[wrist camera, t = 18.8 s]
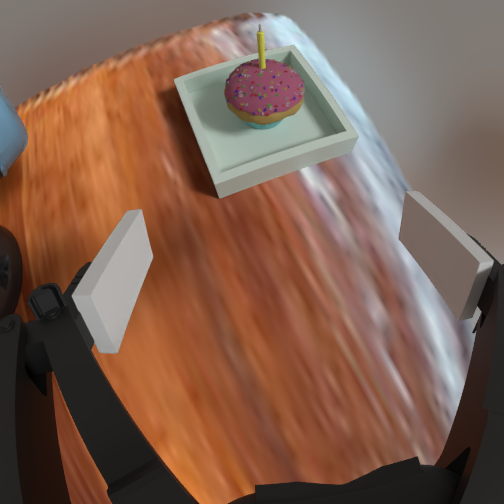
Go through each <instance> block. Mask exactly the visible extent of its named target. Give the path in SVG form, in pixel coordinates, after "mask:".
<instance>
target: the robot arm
mask: <svg viewBox="0 0 504 504" xmlns="http://www.w3.org/2000/svg"><path fill="white" fill-rule="evenodd" d="M27 141H28V134H27V130H26V128H25V126H24V124H23V122H22V120H21V119H20V117H19V115H18V114H17V112H16V110H15V109H14V107H13V105H12V104H11V102H10V101H9V99H8V97H7V96H6V94H5V92H4V91H3V89H2V87H1V86H0V179H1V178H2V177H3V176H4V177H6V175H7V174H8V170H9V168H10V167H11V166H12V165H13V163H14V162H15V161H16V160H17V158H18V157H19V156H20V155H21V154H22V152H23V151H24V149H25V147H26V145H27ZM399 240H400V241H401V242H402V244H403V245H404V246H405V247H406V249H407V250H408V251H409V253H410V254H411V255H412V256H413V258H414V259H415V260H416V262H417V263H418V264H419V266H420V267H421V268H422V270H423V271H424V272H425V274H426V275H427V276H428V278H429V279H430V281H431V282H432V283H433V285H434V286H435V288H436V289H437V290H438V292H439V293H440V295H441V296H442V297H443V299H444V300H445V302H446V303H447V305H448V306H449V308H450V309H451V311H452V312H453V314H454V315H455V317H456V318H457V320H458V321H461V320H465V319H469V318H472V317H473V315H474V312H475V310H476V308H477V306H478V308H479V309H480V310H481V315H480V317H479V319H478V321H477V323H476V326H475V328H474V330H473V332H472V333H475V331H476V330H477V331H476V336H475V342H474V347H473V351H472V356H471V361H470V365H469V369H468V373H467V377H466V381H465V385H464V389H463V393H462V396H461V400H460V403H459V406H458V410H457V413H456V416H455V419H454V422H453V425H452V428H451V431H450V434H449V436H448V439H447V442H446V445H445V447H444V450H443V452H442V454H441V456H440V458H439V459H438V461H437V462H436V464H435V465H434V466H432V465H420V463H419V459H418V456H417V457H414V458H411V459H407V460H404V461H400V462H397V463H393V464H389V465H386V466H382V467H380V468H378V469H376V470H374V471H372V472H370V473H368V474H366V475H364V476H362V477H360V478H357V479H355V480H353V481H351V482H349V483H346V484H342V485H333V484H318V483H306V482H290V483H279V484H266V485H255V493H253V494H249V495H246V496H243V497H241V498H238V499H236V500H234V501H232V502H230V503H228V504H504V264H502V265H501V264H500V263H499V262H498V261H497V260H496V259H495V258H494V257H493V256H492V255H491V254H490V253H489V252H488V251H486V249H485V248H484V247H483V246H481V244H480V243H479V242H478V241H477V240H476V239H475V238H473V237H472V236H470V235H468V234H466V233H465V232H464V231H463V230H462V229H460V227H459V226H457V225H456V224H455V223H454V222H453V221H452V220H451V219H450V218H448V217H447V216H446V215H445V214H444V213H443V212H442V211H441V210H440V209H438V208H437V207H436V206H435V205H434V204H432V203H431V202H430V201H429V200H428V199H427V198H425V197H424V196H423V195H422V194H421V193H419V192H418V191H405V198H404V206H403V213H402V220H401V227H400V233H399ZM152 259H153V254H152V250H151V246H150V242H149V238H148V234H147V230H146V226H145V222H144V217H143V213H142V209H138V210H130V211H127V212H126V213H125V215H124V216H123V218H122V219H121V220H120V222H119V223H118V225H117V226H116V228H115V229H114V230H113V232H112V233H111V235H110V236H109V238H108V239H107V241H106V242H105V244H104V245H103V247H102V248H101V250H100V251H99V253H98V254H97V256H96V257H95V259H94V260H93V262H88V263H86V264H85V265H84V266H83V267H82V268H80V269H79V271H78V272H77V274H76V275H75V278H73V280H72V282H71V285H69V286H68V288H67V289H66V291H65V293H64V294H62V292H61V290H60V288H59V286H58V285H57V284H55V283H47V284H44V285H41V286H39V287H38V288H36V289H35V290H34V291H33V292H32V293H31V294H30V295H29V297H28V300H27V303H28V305H29V307H30V309H31V310H32V312H33V314H34V316H35V318H36V320H35V321H31V322H27V323H24V322H23V320H22V319H21V317H20V316H19V315H18V314H13V312H14V310H15V308H16V305H17V302H18V299H19V295H20V290H21V283H22V260H21V254H20V249H19V246H18V243H17V241H16V239H15V237H14V236H13V234H12V233H11V232H10V231H9V230H8V229H6V228H5V227H2V226H0V504H71V501H70V497H69V493H68V489H67V484H66V480H65V475H64V470H63V465H62V460H61V454H60V448H59V442H58V435H57V428H56V419H55V410H54V400H53V387H52V371H53V372H54V374H55V377H56V380H57V382H58V385H59V387H60V390H61V392H62V395H63V397H64V400H65V402H66V404H67V407H68V409H69V411H70V414H71V416H72V418H73V420H74V422H75V425H76V427H77V429H78V431H79V433H80V435H81V437H82V439H83V441H84V443H85V445H86V447H87V449H88V451H89V453H90V455H91V457H92V458H93V460H94V462H95V464H96V466H97V467H98V469H99V471H100V473H101V474H102V476H103V478H104V480H105V481H106V483H107V485H108V489H107V494H108V497H109V498H110V500H111V502H112V504H199V503H198V502H197V500H196V499H195V498H194V497H193V496H192V495H191V494H190V493H189V492H188V491H187V489H186V488H185V487H184V486H183V485H182V484H181V482H180V481H179V480H178V479H177V478H176V476H175V475H174V474H173V473H172V472H171V470H170V469H169V468H168V467H167V465H166V464H165V463H164V462H163V460H162V459H161V458H160V456H159V455H158V454H157V452H156V451H155V450H154V448H153V447H152V446H151V444H150V443H149V442H148V440H147V439H146V438H145V436H144V435H143V433H142V432H141V431H140V429H139V428H138V426H137V425H136V423H135V422H134V420H133V419H132V417H131V416H130V414H129V413H128V411H127V410H126V408H125V407H124V405H123V404H122V402H121V401H120V399H119V397H118V396H117V394H116V393H115V391H114V389H113V388H112V386H111V384H110V383H109V381H108V379H107V378H106V376H105V374H104V373H103V371H102V369H101V367H100V366H99V364H98V362H97V360H96V358H95V357H94V355H93V353H92V351H91V349H92V347H93V344H94V343H95V345H96V346H97V348H98V350H99V352H100V353H118V351H119V348H120V345H121V342H122V339H123V336H124V333H125V330H126V327H127V325H128V322H129V319H130V316H131V313H132V311H133V308H134V305H135V303H136V300H137V297H138V295H139V292H140V289H141V287H142V284H143V282H144V279H145V277H146V274H147V272H148V269H149V267H150V264H151V262H152Z"/></svg>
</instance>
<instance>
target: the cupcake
mask: <svg viewBox="0 0 504 504" xmlns="http://www.w3.org/2000/svg"><path fill="white" fill-rule="evenodd" d="M257 41H258V56H259V59H258V58H257V59H254V60H251V61H247V62H244V63H242V64H240V65H239V66H238V67H236V68H235V70H234V71H233V72H232V73H230V76H229V77H228V79H226V83H225V89H224V95H225V99H226V103H227V107H228V108H229V110H231V111H232V112H233V113H234V114H235V115H236V116H237V117H238V118H240V119H241V120H243V121H245V122H246V123H247V124H249V125H250V126H252V127H254V128H257V129H270V128H273V127H275V126H277V125H278V124H280V123H281V121H282V120H283V119H284V118H286V117H288V116H292V115H294V114H296V113H297V112H298V110H299V109H300V107H301V106H302V103H303V100H304V91H305V89H304V80H302V79H301V78H300V75H298V74H297V72H296V71H295V70H294V69H292V67H290V66H289V65H285V63H282V62H281V61H280V62H278V61H275V59H272V60H271V59H270V60H269V59H265V43H264V32H263V31H261V25H260V24H259V31H258V32H257Z"/></svg>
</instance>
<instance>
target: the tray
mask: <svg viewBox="0 0 504 504" xmlns="http://www.w3.org/2000/svg"><path fill="white" fill-rule="evenodd" d="M257 58H258V59H259V56H258V53H256V54H252V55H248V56H244V57H241V58H237V59H234V60H230V61H227V62H223V63H220V64H217V65H214V66H211V67H207V68H204V69H201V70H198V71H195V72H193V73H190V74H187V75H184V76H181V77H179V78H176V79H174V82H175V85H176V87H177V90H178V93H179V96H180V99H181V101H182V104H183V107H184V109H185V112H186V114H187V117H188V120H189V122H190V125H191V127H192V130H193V132H194V135H195V138H196V140H197V143H198V145H199V148H200V150H201V153H202V156H203V158H204V161H205V163H206V166H207V168H208V171H209V173H210V176H211V178H212V181H213V184H214V186H215V189H216V191H217V194H218V196H219V199H220V198H223V197H226V196H228V195H231V194H233V193H236V192H239V191H241V190H244V189H247V188H249V187H252V186H255V185H257V184H260V183H263V182H266V181H268V180H271V179H274V178H277V177H280V176H282V175H285V174H288V173H291V172H294V171H297V170H300V169H302V168H305V167H308V166H311V165H314V164H317V163H320V162H323V161H326V160H329V159H332V158H335V157H338V156H341V155H344V154H348V153H351V152H352V150H353V148H354V146H355V144H356V141H357V139H358V137H359V135H358V134H357V132H356V130H355V129H354V127H353V126H352V124H351V123H350V121H349V120H348V118H347V117H346V115H345V114H344V112H343V111H342V109H341V108H340V106H339V105H338V103H337V102H336V100H335V99H334V97H333V96H332V94H331V93H330V92H329V90H328V89H327V87H326V86H325V85H324V83H323V82H322V80H321V79H320V78H319V76H318V75H317V74H316V72H315V71H314V70H313V68H312V67H311V66H310V64H309V63H308V62H307V60H306V59H305V58H304V57H303V55H302V54H301V53H300V52H299V50H298V49H297V48H296V47H295V45H290V46H285V47H281V48H276V49H272V50H268V51H265V59H269V60H270V59H271V60H272V59H275V61H278V62H280V61H281V62H282V63H285V65H289V66H290V67H292V69H294V70H295V71H296V72H297V74H298V75H300V78H301V79H302V80H304V89H305V91H304V100H303V103H302V106H301V107H300V109H299V110H298V112H297V113H296V114H294V115H292V116H288V117H286V118H284V119H283V120H282V121H281V123H280V124H278V125H277V126H275V127H273V128H270V129H257V128H254V127H252V126H250V125H249V124H247V123H246V122H245V121H243V120H241V119H240V118H238V117H237V116H236V115H235V114H234V113H233V112H232V111H231V110H229V108H228V107H227V103H226V99H225V95H224V89H225V83H226V79H228V77H229V76H230V73H232V72H233V71H234V70H235V68H236V67H238V66H239V65H240V64H242V63H244V62H247V61H251V60H254V59H257Z"/></svg>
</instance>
